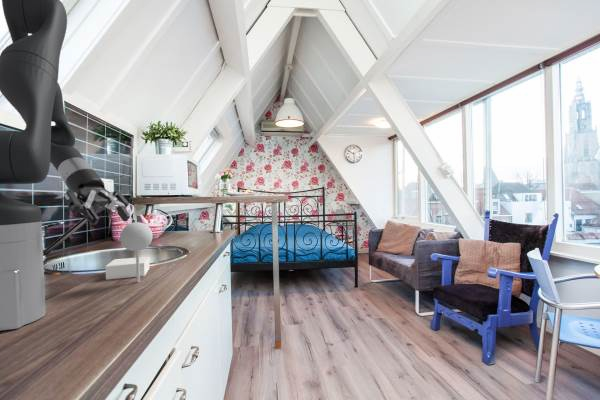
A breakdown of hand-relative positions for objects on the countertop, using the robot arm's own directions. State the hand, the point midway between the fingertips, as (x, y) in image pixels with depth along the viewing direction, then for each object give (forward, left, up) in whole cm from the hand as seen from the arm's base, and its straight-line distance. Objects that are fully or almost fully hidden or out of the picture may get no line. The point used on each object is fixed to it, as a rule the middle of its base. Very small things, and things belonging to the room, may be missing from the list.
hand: (112, 220), depth 78 cm
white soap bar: (+5, -2, -15) cm, 16 cm away
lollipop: (-5, -6, -15) cm, 17 cm away
